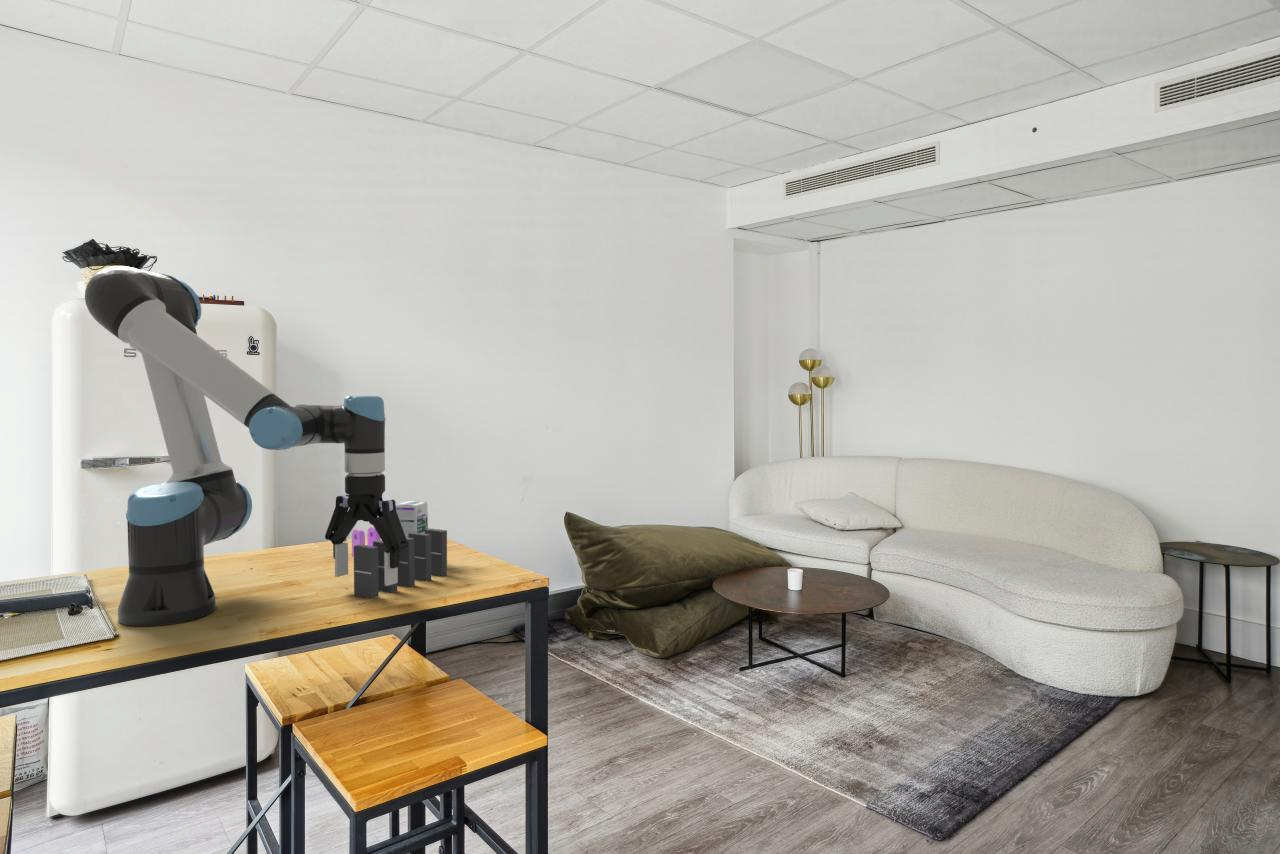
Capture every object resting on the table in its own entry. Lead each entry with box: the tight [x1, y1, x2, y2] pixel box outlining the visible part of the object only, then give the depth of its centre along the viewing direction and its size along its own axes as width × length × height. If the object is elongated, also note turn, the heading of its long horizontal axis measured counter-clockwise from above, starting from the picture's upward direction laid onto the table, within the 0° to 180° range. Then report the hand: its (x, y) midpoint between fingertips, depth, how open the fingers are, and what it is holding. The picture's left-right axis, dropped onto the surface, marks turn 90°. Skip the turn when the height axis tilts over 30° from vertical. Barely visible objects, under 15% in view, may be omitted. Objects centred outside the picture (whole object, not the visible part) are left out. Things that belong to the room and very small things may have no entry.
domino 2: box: [373, 540, 398, 594], centre depth 156 cm, size 5×2×10 cm, turn 63°
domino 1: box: [353, 544, 380, 599], centre depth 152 cm, size 5×2×10 cm, turn 63°
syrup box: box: [396, 500, 429, 537], centre depth 179 cm, size 6×6×14 cm
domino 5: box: [425, 527, 448, 577], centre depth 170 cm, size 5×2×10 cm, turn 63°
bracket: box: [351, 526, 381, 558], centre depth 185 cm, size 13×6×7 cm, turn 50°
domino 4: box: [408, 532, 432, 583], centre depth 165 cm, size 5×2×10 cm, turn 63°
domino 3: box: [397, 537, 416, 588], centre depth 161 cm, size 5×2×10 cm, turn 63°
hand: (365, 579), depth 152 cm, fingers open, 13 cm apart
